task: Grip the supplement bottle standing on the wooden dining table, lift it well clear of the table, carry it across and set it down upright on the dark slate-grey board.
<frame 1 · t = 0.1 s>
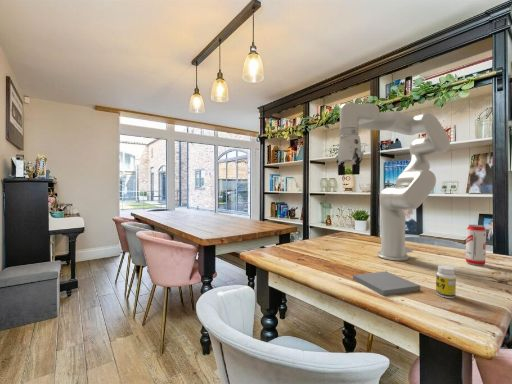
hand: (348, 174, 113), 37 cm above the table, tool pointing down, fingers open, 9 cm apart
beer can: (475, 264, 111), on the table
slate board: (384, 284, 88), on the table
supplement bottle: (445, 296, 79), on the table
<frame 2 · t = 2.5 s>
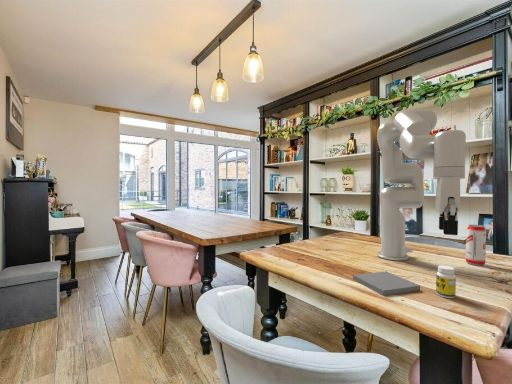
hand: (447, 232, 78), 19 cm above the table, tool pointing down, fingers open, 9 cm apart
nothing on the table moved.
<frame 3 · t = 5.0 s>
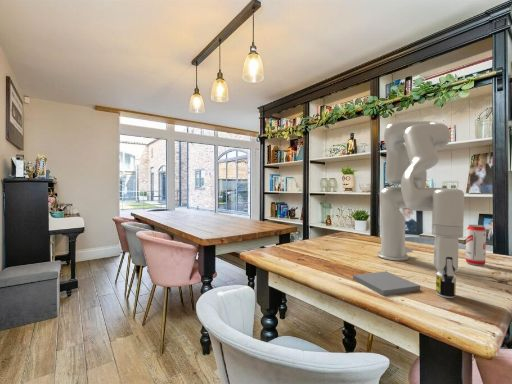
hand: (445, 291, 79), 1 cm above the table, tool pointing down, fingers closed on supplement bottle, 4 cm apart
supplement bottle: (445, 295, 79), on the table, touching gripper
everything else where it was.
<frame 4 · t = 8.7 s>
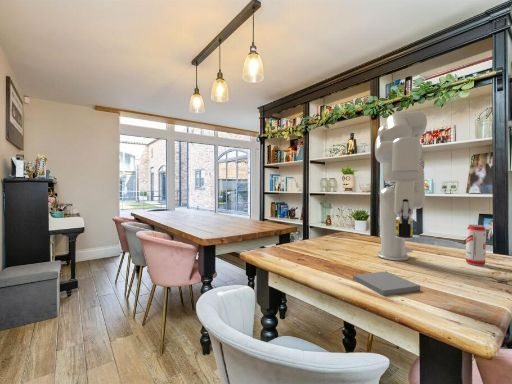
hand: (403, 234, 85), 17 cm above the table, tool pointing down, fingers closed on supplement bottle, 4 cm apart
supplement bottle: (404, 238, 85), point 16 cm above the table, touching gripper
everything else where it was.
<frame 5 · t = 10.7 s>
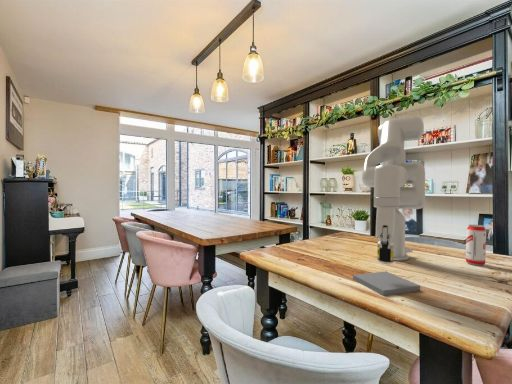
hand: (385, 258, 87), 9 cm above the table, tool pointing down, fingers closed on supplement bottle, 4 cm apart
supplement bottle: (385, 262, 87), point 7 cm above the table, touching gripper
everything else where it was.
when the fingers open (4 cm above the table, at t = 12.4 s): supplement bottle drops 1 cm, resting on slate board.
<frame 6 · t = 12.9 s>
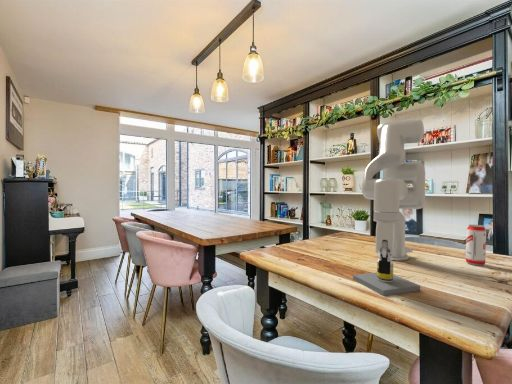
hand: (385, 269, 88), 5 cm above the table, tool pointing down, fingers open, 9 cm apart
supplement bottle: (384, 280, 88), point 1 cm above the table, touching slate board
everything else where it was.
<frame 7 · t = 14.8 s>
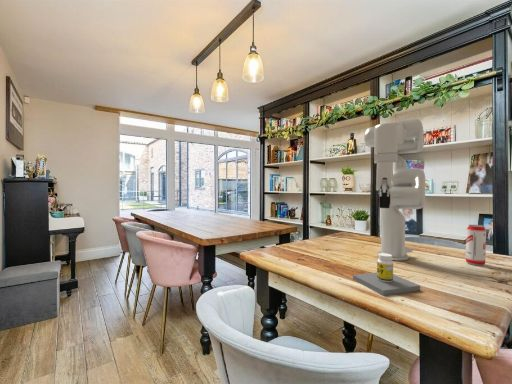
hand: (385, 206, 97), 25 cm above the table, tool pointing down, fingers open, 9 cm apart
nothing on the table moved.
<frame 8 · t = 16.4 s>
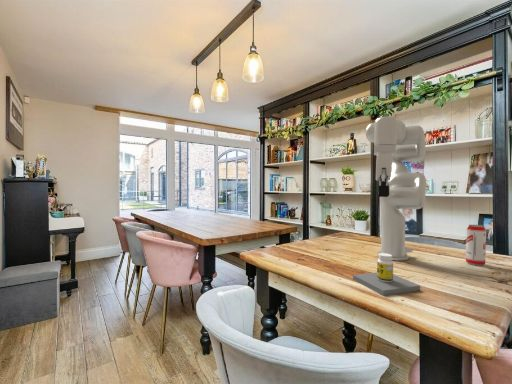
hand: (384, 196, 101), 28 cm above the table, tool pointing down, fingers open, 9 cm apart
nothing on the table moved.
at the end: supplement bottle inside the target area on the slate board (0.0 cm from its centre), point 1.3 cm above the slate board's base; supplement bottle tilted 0°; the gripper is holding nothing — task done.
